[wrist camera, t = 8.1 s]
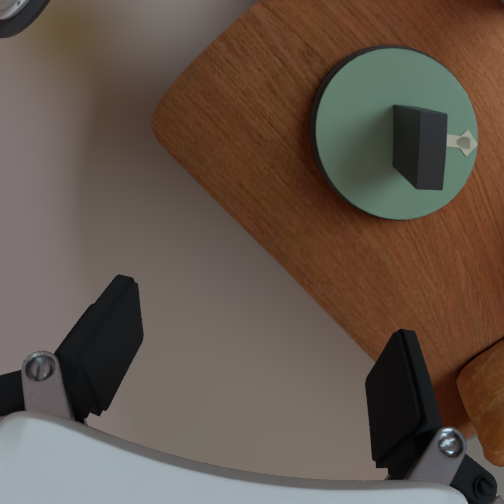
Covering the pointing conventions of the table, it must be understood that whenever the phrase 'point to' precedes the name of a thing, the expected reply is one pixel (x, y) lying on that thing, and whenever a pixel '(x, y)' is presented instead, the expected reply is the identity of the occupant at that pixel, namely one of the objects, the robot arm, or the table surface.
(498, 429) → the bread
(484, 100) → the table surface
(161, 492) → the robot arm
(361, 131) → the turntable tray
